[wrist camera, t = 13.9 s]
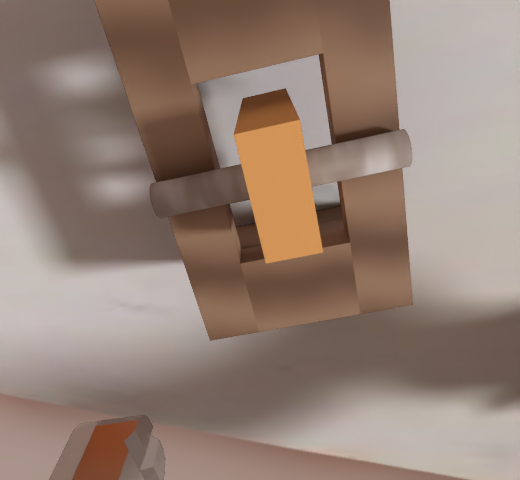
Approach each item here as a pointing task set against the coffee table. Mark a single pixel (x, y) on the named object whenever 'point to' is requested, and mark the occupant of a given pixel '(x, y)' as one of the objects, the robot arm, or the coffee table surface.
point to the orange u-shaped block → (277, 176)
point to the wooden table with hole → (232, 178)
